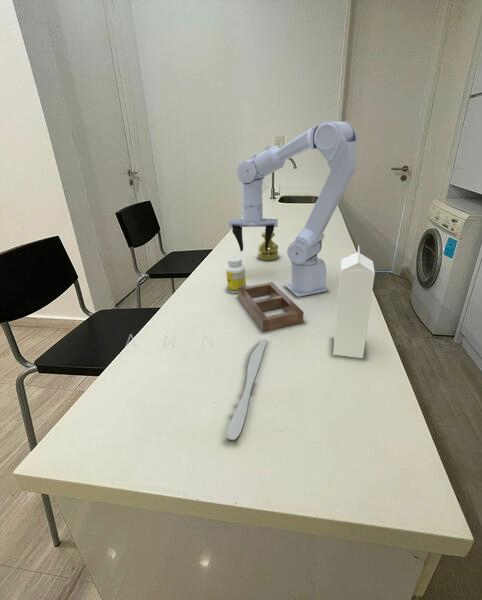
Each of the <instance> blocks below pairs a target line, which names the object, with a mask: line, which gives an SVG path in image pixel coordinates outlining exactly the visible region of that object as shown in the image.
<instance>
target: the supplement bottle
mask: <svg viewBox="0 0 482 600" xmlns="http://www.w3.org/2000/svg"><path fill="white" fill-rule="evenodd" d="M227 264H228V265H227V266H226V268H225V269H226V270H225V271H226V281H227V282H226V283H227V290H228V292H229V293H232V294H238V288H242V287H247V279H246V267H245V265H244V264H243V258H242V257H240V256H231V257H228V258H227Z"/></svg>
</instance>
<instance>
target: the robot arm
mask: <svg viewBox="0 0 482 600" xmlns="http://www.w3.org/2000/svg"><path fill="white" fill-rule="evenodd" d="M358 140H359V137H358V135H357V133H356V130H355V127H354V126H353V125H352V123H350V122H349V121H347V120H341V121H332V120H325V121H323V122H321V123H320V124H319V125H314V126H313V127H310V128H309V129H307V130H306V131H304V132H303V133H301V134H299V135H298V136H296V137H295V138H293V139H291V140H290V141H289V142H287V143H285V144H283V145H281V146H280V147H278V146H276V145H266V146H265V147H264V150H263V151H262V152H260V153H259V154H253V155H252V156H251V159H250V160H248V159H246V160H245V159H244V160H241V162H240V163H239V164H237V167H236V176H237V178H238V180H239V181H240V182H241V201H242V217H243V218H237V219H228V222H227V223H228V228H229V229H230V228H231V232H232V234H233V235H234V237H235V239H236V241H237V243H238V247H239V250H240V251H239V252H244V240H243V228H259V227H260V228H262V227H263V228H265V229H264V232H265V235H266V245H265V251H268V244H269V241H270V238H271V235H272V233H274V231H275V228H278V226H279V220H278V218H265V217H264V216H263V185H264V184H263V183H264V182H263V181H264V179H265V177H267V176H268V175H271V174H273V173H274V172H277V171H279V170H280V169H283V167H284V166H285V163H286V161H287V160H288V159H290V158H293V157H295V156H297V155H299V154H301V153H303V152H305V151H307V150H309V149H311V150H312V149H313V150H318V151H319V153H320V154H321V156H322V157H323V158H324V159H325V160H326V162H327V164H328V167H329V170H330V171H329V174H328V176H327V177H326V180H325V182H324V184H323V186H322V189H321V191H320V193H319V195H318V197H317V198H316V201H315V204H314V206H313V207H312V210H311V212H310V214H309V216H308V218H307V221H306V222H305V225H304V227H303V228H302V229H301V231H300V232H299V233H298V234H297V236H296V238H295V239H294V241H292V242H291V243H289V245H288V246H287V251H286V252H287V257H288V260H290V261H291V274H290V275H291V277H290V279H291V280H290V281H291V282H290V283H289V284H286V285H285V288H287V289H288V290H289V291H290V292H291V293H292V294H294V295H295V296H296V297H298V298H299V297H305V296H309V295H315V294H320V293H323V292H327V288H326V281H327V280H326V279H327V266H326V262H325V261H324V259H322V258H321V257H318V254H319V253H321V251H322V249H323V240H324V238H325V234H324V232H325V230H326V228H327V226H328V224H329V222H330V220H331V218H332V216H333V215H334V212H335V211H336V209H337V207H338V205H339V203H340V202H341V200H342V197H343V195H344V193H345V191H346V189H347V187H348V186H349V184H350V181H351V180H352V177H353V176H354V174H355V172H356V169H357V143H358Z"/></svg>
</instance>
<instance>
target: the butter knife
mask: <svg viewBox="0 0 482 600" xmlns="http://www.w3.org/2000/svg"><path fill="white" fill-rule="evenodd" d="M266 345H267V341H266V340H262V341H260V342H259V344H258V345H257V346H256V348H255V349H254V350H253V351H252V353H251V354H250V356H249V361H248V366H247V373H246V381H245V387H244V390H243V393H242V396H241V398H240V401H239V403H238V405H237V407H236V408H235V411H234V413H233V415H232V418H231V419H230V422H229V425H228V428H227V431H226V438H227V439H228V440H229V441H236V439H237V438H238V437H239V436H240V435H241V432H242V429H243V426H244V423H245V419H246V416H247V412H248V407H249V401H250V396H251V392H252V389H253V385H254V381H255V379H256V376H257V374H258V370H259V367H260V365H261V361H262V358H263V354H264V350H265V348H266Z"/></svg>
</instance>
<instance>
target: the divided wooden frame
mask: <svg viewBox="0 0 482 600" xmlns="http://www.w3.org/2000/svg"><path fill="white" fill-rule="evenodd" d="M266 295H270V297H266V298H261V299H255V300H254V299H253V298H257V297H262V296H266ZM237 298H238V299H239V301H240V302H241V303H242V305H243V307H244V308H245V309H246V310H247V312H248V313H249V314H250V316H251V317H252V319H253V320H254V321H255V323H256V324H257V325H258V327H259V328H260V330H261V331H262V332H267V331H268V332H269V331H273V330H277V329H281V328H282V329H283V328H285V327H290V326H294V325H299V324H303V323H304V311H303V310H302V309H301V308H300V307H299V306H298V305H297V304H296V303H295V302H294V301H293V300H292V299H291V298H289V296H287V294H286V293H284V292H283V291H282V289H280V288H279V287H278V286H277V285H276V284H275V283H274V281H270V282H264V283H259V284H253V285H249V286H246V287H242V288H238V293H237ZM279 309H283V310H284V311H285V312H282V313H277V314H273V315H268V316H267V315H266V314H265V312H268V311H269V312H270V311H273V310H279Z"/></svg>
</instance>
